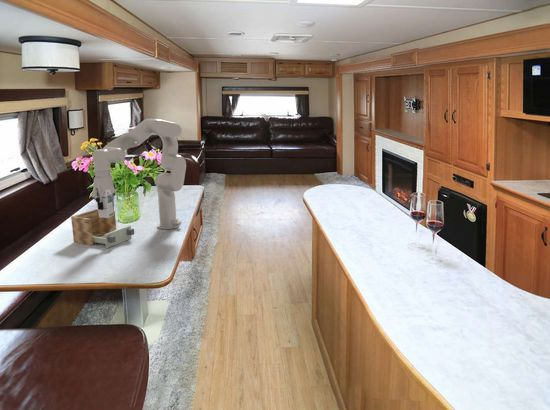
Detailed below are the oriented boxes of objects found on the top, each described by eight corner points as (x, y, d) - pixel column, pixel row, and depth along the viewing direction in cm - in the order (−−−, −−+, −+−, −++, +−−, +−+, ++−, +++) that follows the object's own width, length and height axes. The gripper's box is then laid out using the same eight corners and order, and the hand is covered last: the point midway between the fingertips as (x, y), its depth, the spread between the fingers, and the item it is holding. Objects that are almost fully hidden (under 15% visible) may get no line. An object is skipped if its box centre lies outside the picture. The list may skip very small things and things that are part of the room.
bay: (117, 236, 277) (114, 211, 274) (92, 245, 262) (89, 219, 258) (99, 233, 283) (97, 209, 280) (73, 242, 267) (71, 216, 264)
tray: (135, 238, 271) (134, 226, 270) (111, 248, 256) (110, 235, 254) (113, 235, 278) (112, 223, 276) (88, 244, 263) (87, 231, 261)
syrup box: (109, 218, 259) (106, 190, 255) (98, 217, 260) (95, 190, 257) (114, 215, 264) (112, 188, 261) (104, 214, 265) (101, 187, 262)
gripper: (109, 170, 266) (112, 203, 270) (84, 176, 251) (87, 211, 255) (120, 171, 263) (123, 204, 267) (95, 177, 248) (98, 212, 252)
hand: (105, 207), depth 261 cm, fingers closed on syrup box, 6 cm apart
